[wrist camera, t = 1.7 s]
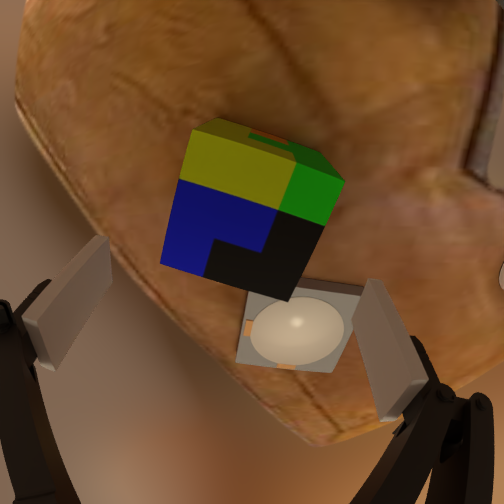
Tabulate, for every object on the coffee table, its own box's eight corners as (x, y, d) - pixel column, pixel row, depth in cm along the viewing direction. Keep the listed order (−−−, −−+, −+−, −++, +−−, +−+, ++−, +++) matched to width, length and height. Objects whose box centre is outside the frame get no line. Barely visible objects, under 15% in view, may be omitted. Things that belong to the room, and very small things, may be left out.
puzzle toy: (189, 213, 31) (159, 263, 22) (217, 117, 26) (192, 129, 18) (282, 242, 32) (288, 302, 23) (320, 152, 28) (345, 181, 19)
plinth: (251, 269, 34) (250, 281, 32) (363, 286, 34) (368, 298, 32) (236, 351, 40) (235, 363, 38) (329, 361, 41) (332, 374, 39)
